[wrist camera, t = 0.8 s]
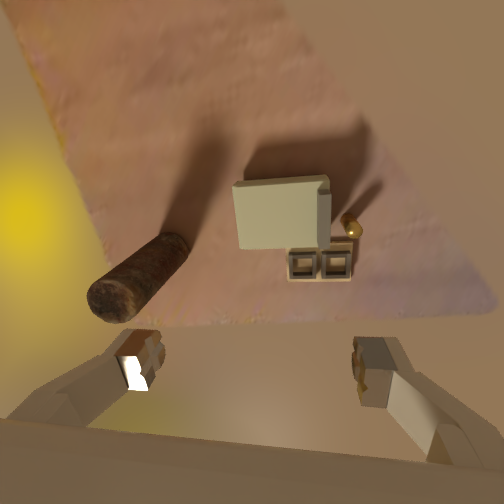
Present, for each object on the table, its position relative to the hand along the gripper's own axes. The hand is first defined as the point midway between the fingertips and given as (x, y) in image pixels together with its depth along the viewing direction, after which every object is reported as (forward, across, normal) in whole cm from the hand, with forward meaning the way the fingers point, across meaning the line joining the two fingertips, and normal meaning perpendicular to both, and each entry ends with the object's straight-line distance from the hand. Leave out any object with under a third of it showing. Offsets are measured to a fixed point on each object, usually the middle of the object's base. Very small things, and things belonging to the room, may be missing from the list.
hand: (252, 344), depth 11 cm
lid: (+36, 0, +4) cm, 37 cm away
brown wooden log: (+38, +23, +11) cm, 46 cm away
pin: (+38, -11, +6) cm, 40 cm away
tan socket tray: (+38, -6, +15) cm, 41 cm away
